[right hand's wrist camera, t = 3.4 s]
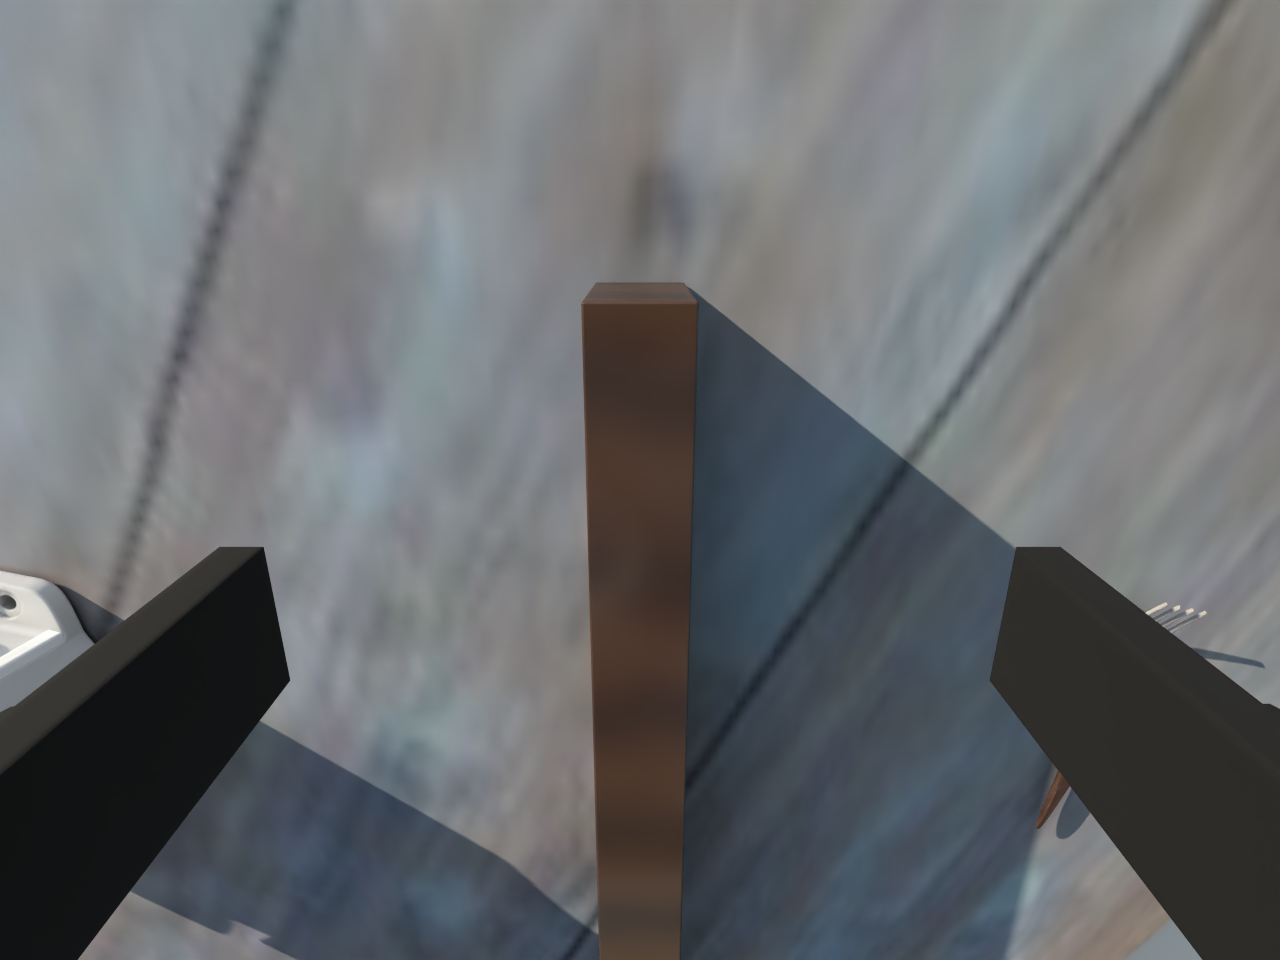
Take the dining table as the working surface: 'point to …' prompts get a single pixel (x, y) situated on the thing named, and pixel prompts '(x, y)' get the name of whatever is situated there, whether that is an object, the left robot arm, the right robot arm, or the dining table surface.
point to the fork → (1059, 782)
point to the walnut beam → (640, 601)
